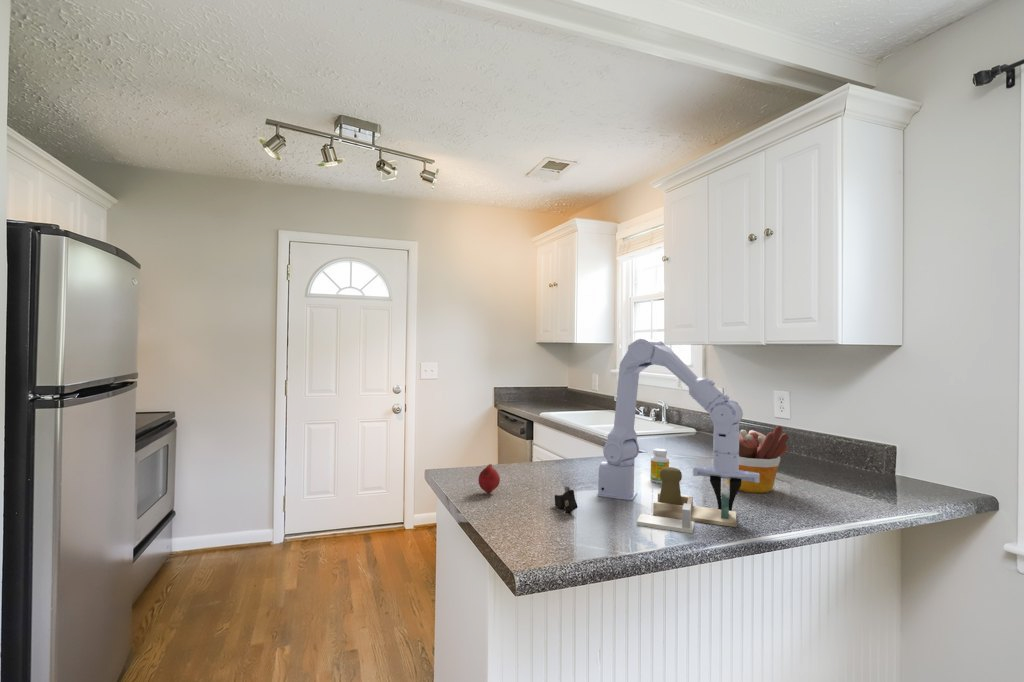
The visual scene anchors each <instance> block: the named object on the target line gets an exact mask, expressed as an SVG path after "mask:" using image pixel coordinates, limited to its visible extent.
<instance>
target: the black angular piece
mask: <svg viewBox="0 0 1024 682" xmlns="http://www.w3.org/2000/svg"><path fill="white" fill-rule="evenodd" d="M563 490H564V492H563V494H559V495H558V494H554V506H555V507H556V508H558V509H564V511H565V513H572V512H574V511H575V510H576V509H577V508H579V506H578V503H577V500H576V497H575V496H576V495H575V490H574V489H571V488H570V485H569V486H568V485H565V486H564V488H563Z"/></svg>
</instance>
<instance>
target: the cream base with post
mask: <svg viewBox="0 0 1024 682" xmlns="http://www.w3.org/2000/svg"><path fill="white" fill-rule="evenodd" d="M636 526H641V527H646V528H647V527H648V528H655V529H661V530H667V531H673V532H674V531H675V532H681V533H687V534H692V535H693V533H694V530H695V529H694V528H695V521H691V504H686V503H684V505H683V509H682V519H676V518H669V517H662V516H655V515H653V514H652V515H650V514H643V513H640V515H639V517H638V519H637V521H636Z"/></svg>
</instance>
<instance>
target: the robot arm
mask: <svg viewBox="0 0 1024 682" xmlns="http://www.w3.org/2000/svg"><path fill="white" fill-rule="evenodd" d="M653 365H657V366H661V367H664V368H667V370H669V371H670V372H671V373H672V374H673V375H674V376H675V377H676V378H678V379H679V381H681V382H682V383H684V385H686V386H687V387H688V395H689V396H690V397H691V398H692V399H694V400H695V401H696V402H697V403H698V405H700V407H702V408H703V410H704V411H706V412H707V413H708V414H709V418H710V420H711V423H713V432H712V433H713V436H712V437H713V443H712V444H713V445H712V447H713V448H712V466H697V465H696V466H695V465H693V467H692V468H693V471H692V476H694V477H709V482H710V484H711V486H712V489H713V491H714V495H715V497H716V501H717V506H718V507H717V509H720V510H721V496H722V479H726V480H727V479H730V485H729V511H733V506H734V502H735V498H736V497H737V495H738V492H739V488H740V487H741V480H743V481H752V482H755V483H759V473H754V472H748V471H742V470H739V432H740V423H739V422H741V420H743V415H744V414H743V413H744V412H743V409H742V407H741V406H740V405H739V403H738V402H737V401H736V400H735V401H734V400H729V399H730V396H728V395H727V394H724V393H723V392H722V391H720V390H719V389H718V388H717V387H716V386H715V384H716V382H715V381H714V380H713V379H710V380H708V379H707V378H699V377H698V376H697V375H696V374H695V373H694V371H693V370H691V368H689V367H688V366H687V364H686V363H684V362H683V361H682V360H681V359H680V357H679V356H678V355H676V353H675V352H674V351H673V350H672V348H671V347H669V346H668V345H666V344H665V343H664V342H663V341H662V340H659V339H646V338H638V339H636V340H635V341H633V342H631V343H629V344H628V346H627V351H626V353H625V355H624V356H623V358H622V359H621V361H620V363H619V368H618V370H619V371H618V377H617V378H618V380H617V389H616V391H617V392H616V400H615V411H614V422H613V428H612V429H611V431H609V433H608V434H607V439H606V442H605V444H604V446H603V448H602V452H603V457H604V458H605V460H606V461H601V462H600V463H599V467H598V485H597V486H598V489H597V491H598V493H597V496H598V497H603V498H610V499H619V500H624V501H634V499H635V497H636V496H637V494H638V492H637V491H635V460H636V458H637V457H638V455H639V453H640V447H639V443H638V434H637V432H636V431H635V420H636V411H637V410H636V409H637V399H638V389H639V381H640V380H639V378H640V373H641V372H643V371H644V370H645V369H647V368H648V367H650V366H653Z"/></svg>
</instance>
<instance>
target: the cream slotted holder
mask: <svg viewBox="0 0 1024 682" xmlns="http://www.w3.org/2000/svg"><path fill="white" fill-rule="evenodd" d="M729 495H730V492H728V491H721V510H720V509H718V508H714V507H712V508H711V507H705V506H697V505H694V497H693V496H686V495H681V501H682V505H675V504H668V503H660V502H659V499H660V492H658V493H657V501H653V503H652V505H653V507H652V516H659V517H666V518H673V519H679V520H682V509H683V505H684V503H686V504H691V521H693V522H696V523H697V522H698V523H706V524H710V525H711V524H712V525H718V526H726V527H733V528H738V522H737V511H734V510H732V511H729Z"/></svg>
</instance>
